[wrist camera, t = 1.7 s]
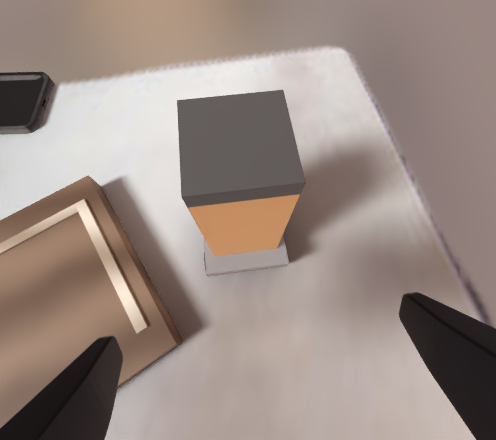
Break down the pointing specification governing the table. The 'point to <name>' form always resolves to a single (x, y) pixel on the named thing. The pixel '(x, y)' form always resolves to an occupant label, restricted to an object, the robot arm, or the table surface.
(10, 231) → the dock
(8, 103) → the phone
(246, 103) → the grey-topped tan box
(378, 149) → the table surface
